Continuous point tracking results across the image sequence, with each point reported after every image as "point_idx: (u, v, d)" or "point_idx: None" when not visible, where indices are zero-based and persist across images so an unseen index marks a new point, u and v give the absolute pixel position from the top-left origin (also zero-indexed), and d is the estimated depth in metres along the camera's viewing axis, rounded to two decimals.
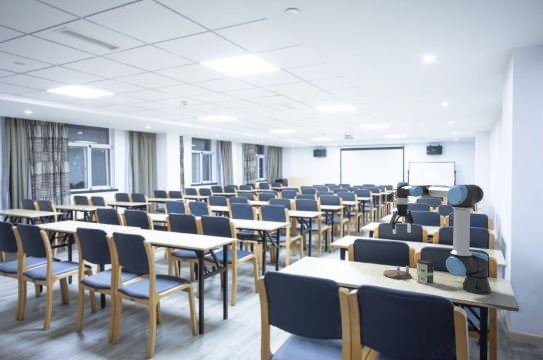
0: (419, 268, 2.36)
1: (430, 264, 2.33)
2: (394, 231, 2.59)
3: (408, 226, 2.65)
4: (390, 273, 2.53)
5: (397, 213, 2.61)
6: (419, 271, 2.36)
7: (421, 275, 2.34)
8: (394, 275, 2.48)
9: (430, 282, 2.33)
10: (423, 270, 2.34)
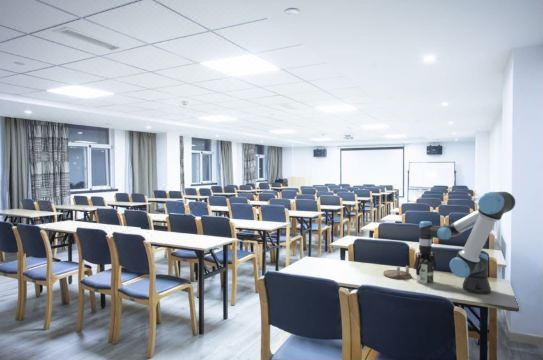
0: None
1: (430, 264, 2.33)
2: (418, 277, 2.35)
3: None
4: (390, 273, 2.53)
5: None
6: None
7: (421, 275, 2.34)
8: (394, 275, 2.48)
9: (430, 282, 2.33)
10: (423, 270, 2.34)
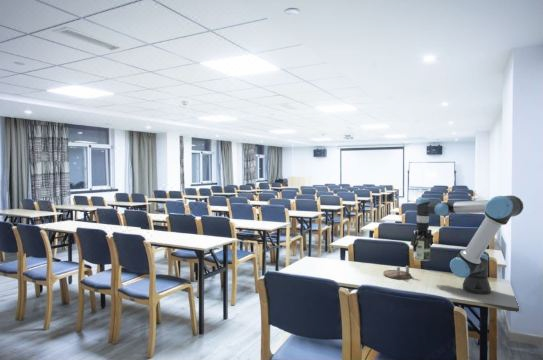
0: None
1: (426, 240, 2.34)
2: (415, 253, 2.37)
3: None
4: (390, 273, 2.53)
5: None
6: None
7: (418, 251, 2.36)
8: (394, 275, 2.48)
9: (427, 258, 2.35)
10: (420, 246, 2.35)
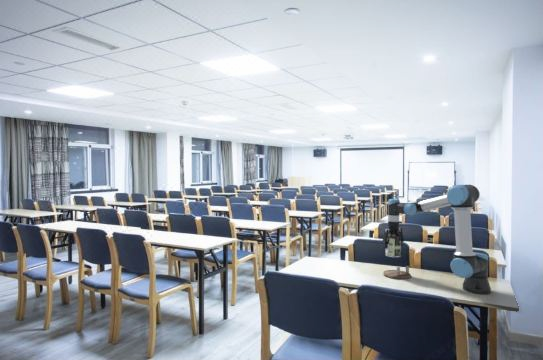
0: None
1: (397, 238, 2.51)
2: (387, 250, 2.54)
3: None
4: (390, 273, 2.53)
5: None
6: None
7: (389, 248, 2.53)
8: (394, 275, 2.48)
9: (397, 255, 2.52)
10: (391, 244, 2.52)
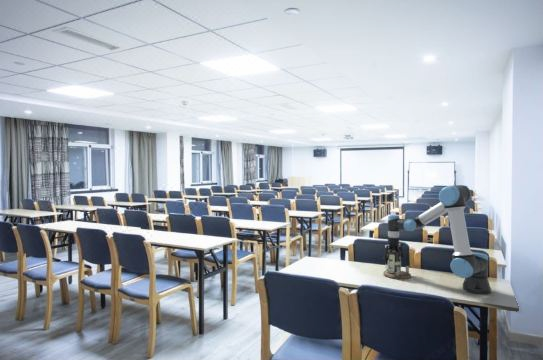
0: None
1: (397, 254, 2.51)
2: (387, 266, 2.54)
3: None
4: (390, 273, 2.53)
5: None
6: None
7: (389, 264, 2.53)
8: (394, 275, 2.48)
9: None
10: (391, 260, 2.52)
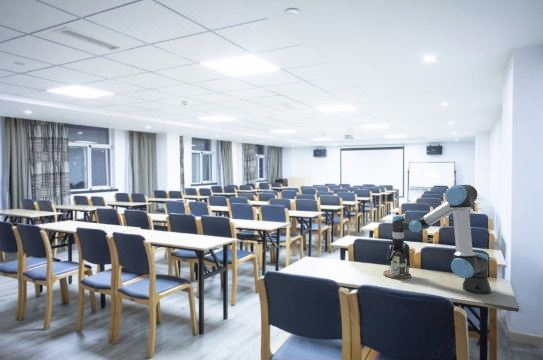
0: (392, 260, 2.50)
1: (402, 256, 2.47)
2: (390, 267, 2.49)
3: None
4: (390, 273, 2.53)
5: None
6: (392, 263, 2.50)
7: (394, 266, 2.49)
8: (394, 275, 2.48)
9: (402, 273, 2.48)
10: (395, 262, 2.48)
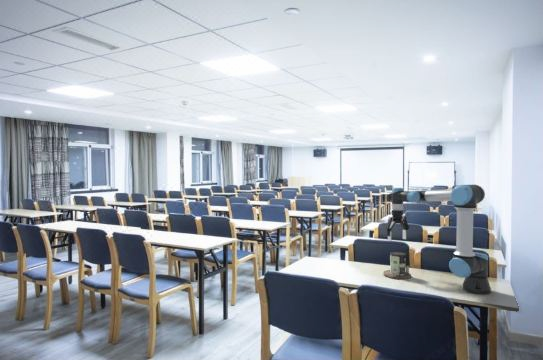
0: (392, 260, 2.50)
1: (401, 256, 2.47)
2: (389, 238, 2.53)
3: (403, 232, 2.59)
4: (390, 273, 2.53)
5: None
6: (392, 263, 2.50)
7: (394, 266, 2.49)
8: (394, 275, 2.48)
9: (402, 273, 2.48)
10: (395, 262, 2.48)
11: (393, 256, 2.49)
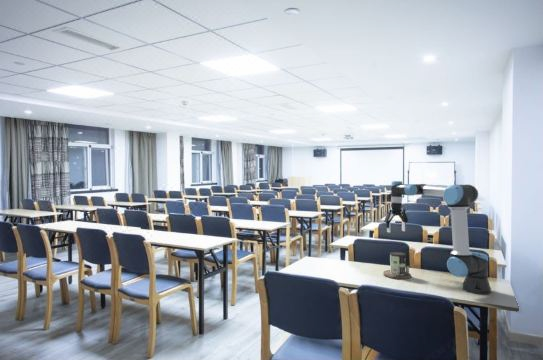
0: (392, 260, 2.50)
1: (401, 256, 2.47)
2: (388, 230, 2.60)
3: (402, 225, 2.66)
4: (390, 273, 2.53)
5: None
6: (392, 263, 2.50)
7: (394, 266, 2.49)
8: (394, 275, 2.48)
9: (402, 273, 2.48)
10: (395, 262, 2.48)
11: (393, 256, 2.49)
